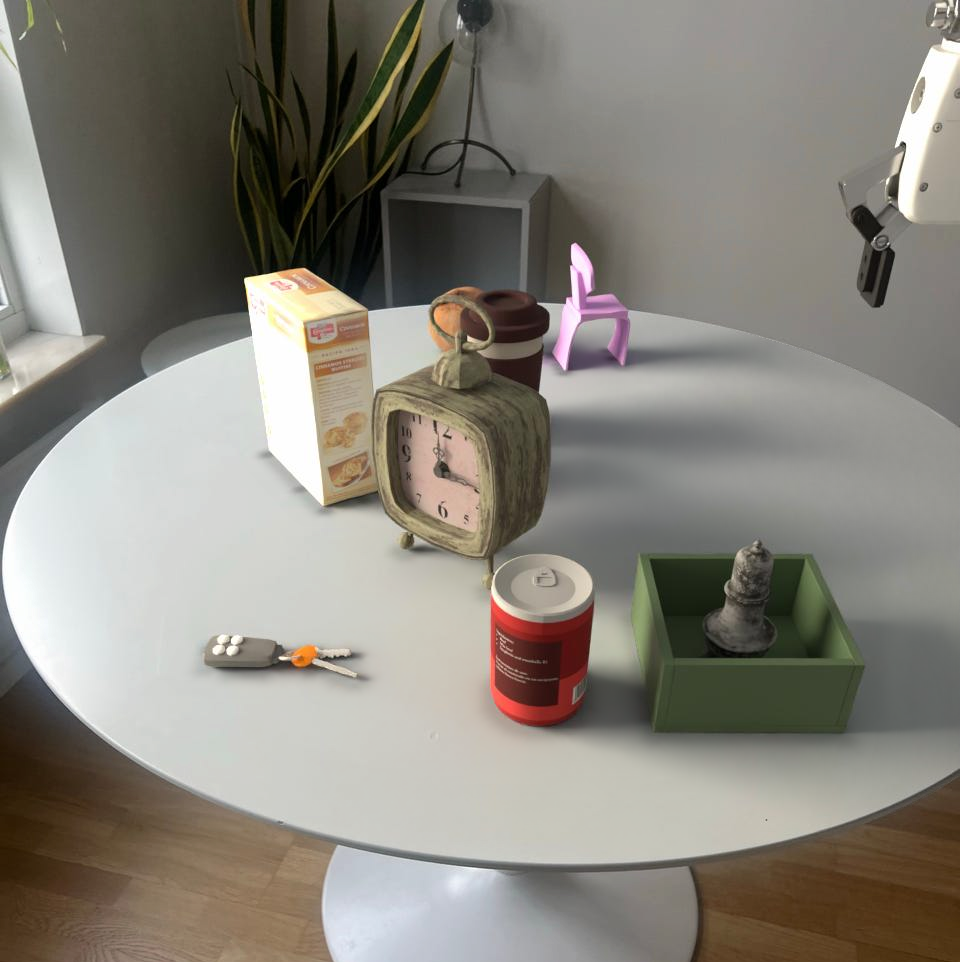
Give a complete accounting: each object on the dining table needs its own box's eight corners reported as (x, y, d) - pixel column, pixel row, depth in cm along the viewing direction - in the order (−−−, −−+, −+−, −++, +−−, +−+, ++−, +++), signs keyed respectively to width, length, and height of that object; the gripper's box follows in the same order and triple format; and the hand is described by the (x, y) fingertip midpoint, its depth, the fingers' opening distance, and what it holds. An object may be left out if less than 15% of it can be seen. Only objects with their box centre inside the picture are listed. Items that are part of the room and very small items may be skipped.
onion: (449, 383, 131) (423, 328, 123) (438, 340, 137) (411, 284, 128) (514, 357, 130) (492, 299, 122) (500, 314, 135) (478, 256, 127)
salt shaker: (681, 661, 79) (702, 537, 72) (724, 631, 82) (749, 510, 75) (740, 697, 76) (769, 571, 68) (783, 664, 79) (815, 540, 71)
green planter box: (796, 617, 85) (812, 553, 81) (844, 733, 74) (866, 665, 70) (630, 617, 85) (638, 552, 81) (653, 732, 74) (664, 664, 70)
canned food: (569, 657, 81) (577, 547, 74) (598, 721, 75) (610, 607, 68) (480, 669, 80) (480, 558, 73) (502, 736, 74) (505, 621, 67)
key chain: (201, 671, 79) (198, 657, 79) (214, 643, 82) (211, 629, 81) (356, 679, 79) (355, 665, 78) (364, 650, 82) (363, 637, 81)
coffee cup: (502, 400, 120) (504, 277, 111) (562, 425, 115) (569, 299, 105) (444, 425, 115) (441, 298, 105) (503, 453, 109) (506, 322, 100)
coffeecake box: (383, 490, 103) (370, 308, 91) (322, 508, 100) (300, 322, 88) (324, 435, 113) (306, 264, 100) (267, 450, 110) (241, 276, 98)
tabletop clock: (379, 549, 94) (359, 290, 78) (441, 512, 99) (434, 263, 84) (495, 606, 87) (498, 333, 71) (554, 562, 92) (570, 300, 76)
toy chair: (630, 368, 128) (642, 251, 119) (567, 374, 126) (574, 256, 117) (610, 344, 134) (620, 232, 125) (550, 350, 133) (555, 236, 123)
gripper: (892, 34, 56) (833, 322, 67) (1189, 24, 56) (1082, 314, 67) (852, 18, 62) (803, 285, 73) (1121, 9, 62) (1032, 278, 73)
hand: (937, 299), depth 70 cm, fingers open, 9 cm apart
